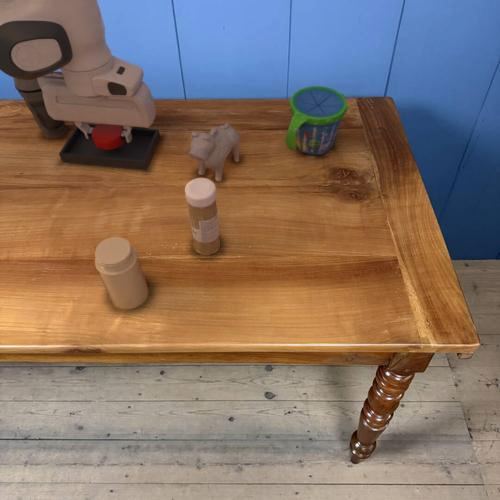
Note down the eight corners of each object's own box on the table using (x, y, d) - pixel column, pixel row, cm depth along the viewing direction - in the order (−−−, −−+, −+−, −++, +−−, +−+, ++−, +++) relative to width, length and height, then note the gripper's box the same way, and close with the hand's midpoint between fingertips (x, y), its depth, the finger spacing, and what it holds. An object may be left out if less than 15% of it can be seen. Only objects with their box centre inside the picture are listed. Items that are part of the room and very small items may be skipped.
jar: (105, 307, 69) (84, 264, 61) (117, 276, 73) (99, 231, 64) (142, 312, 69) (126, 269, 60) (152, 280, 72) (139, 236, 64)
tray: (62, 162, 90) (58, 154, 89) (81, 130, 97) (78, 122, 95) (146, 170, 89) (144, 162, 87) (160, 137, 95) (159, 129, 93)
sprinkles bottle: (190, 239, 78) (181, 180, 67) (216, 232, 78) (210, 173, 68) (197, 259, 75) (188, 201, 64) (224, 252, 76) (219, 194, 65)
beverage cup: (37, 124, 98) (-4, 31, 82) (72, 118, 99) (38, 25, 84) (37, 145, 94) (-7, 51, 78) (73, 139, 95) (38, 44, 79)
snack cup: (303, 175, 87) (308, 131, 80) (267, 148, 93) (268, 104, 85) (358, 141, 94) (368, 97, 86) (321, 118, 99) (327, 74, 91)
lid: (108, 154, 88) (105, 145, 86) (87, 141, 90) (84, 132, 89) (131, 138, 91) (129, 130, 89) (111, 126, 93) (108, 118, 91)
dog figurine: (185, 185, 86) (178, 139, 78) (220, 147, 93) (217, 101, 85) (209, 195, 84) (204, 149, 76) (243, 155, 91) (242, 109, 83)
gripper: (25, 79, 79) (53, 144, 89) (140, 88, 77) (154, 153, 87) (41, 60, 83) (66, 125, 93) (151, 68, 81) (163, 133, 91)
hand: (109, 139), depth 90 cm, fingers closed on lid, 6 cm apart
